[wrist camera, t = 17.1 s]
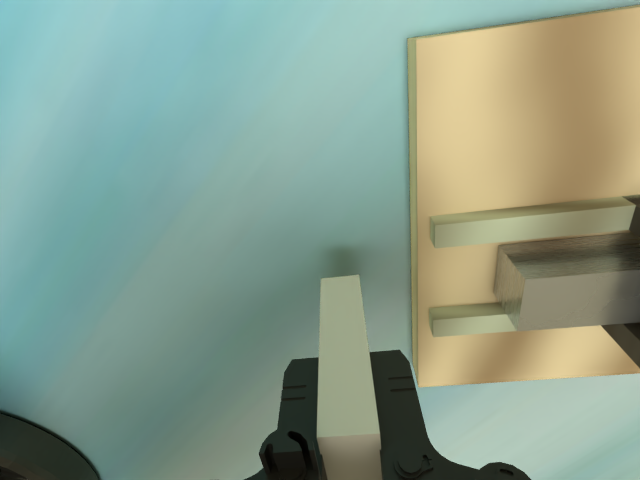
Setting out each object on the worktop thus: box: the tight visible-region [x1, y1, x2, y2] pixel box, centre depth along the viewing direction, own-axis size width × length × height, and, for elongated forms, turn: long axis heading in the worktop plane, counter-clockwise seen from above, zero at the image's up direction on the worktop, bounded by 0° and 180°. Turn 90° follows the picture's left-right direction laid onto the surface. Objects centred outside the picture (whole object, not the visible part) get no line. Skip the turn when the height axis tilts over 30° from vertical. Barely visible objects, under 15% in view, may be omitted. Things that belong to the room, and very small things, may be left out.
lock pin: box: [493, 233, 640, 332], centre depth 14 cm, size 7×2×2 cm, turn 98°
